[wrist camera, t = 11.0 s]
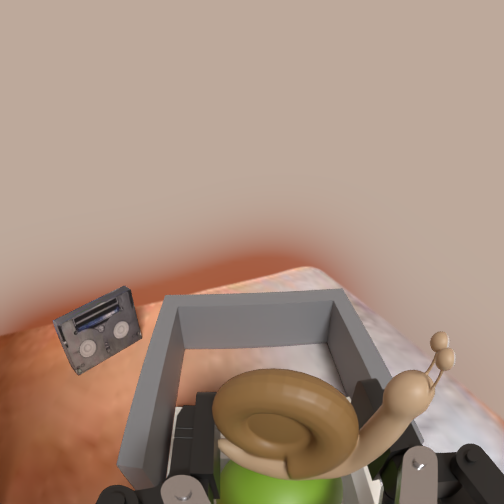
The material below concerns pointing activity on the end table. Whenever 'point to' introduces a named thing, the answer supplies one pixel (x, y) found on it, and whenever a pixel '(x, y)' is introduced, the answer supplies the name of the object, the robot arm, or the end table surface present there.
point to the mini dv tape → (98, 329)
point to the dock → (235, 336)
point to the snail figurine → (309, 431)
